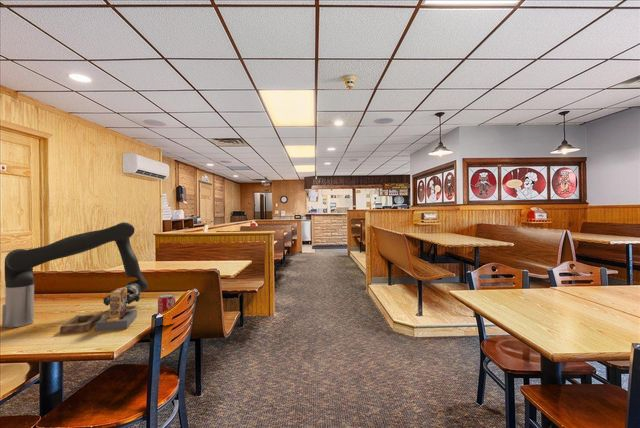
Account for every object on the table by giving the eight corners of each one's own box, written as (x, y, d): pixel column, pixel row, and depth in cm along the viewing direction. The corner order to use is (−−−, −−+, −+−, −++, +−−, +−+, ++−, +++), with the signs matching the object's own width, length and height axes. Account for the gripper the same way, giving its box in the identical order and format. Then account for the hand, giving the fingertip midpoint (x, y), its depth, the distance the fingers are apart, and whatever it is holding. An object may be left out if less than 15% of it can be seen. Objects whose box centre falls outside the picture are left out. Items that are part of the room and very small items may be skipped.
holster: (60, 334, 127) (60, 326, 127) (76, 321, 141) (76, 315, 141) (88, 331, 130) (89, 324, 130) (101, 319, 144) (102, 313, 144)
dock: (95, 331, 130) (96, 321, 130) (109, 318, 145) (109, 309, 145) (127, 328, 133) (127, 318, 133) (136, 316, 149) (137, 307, 149)
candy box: (119, 326, 136) (120, 291, 136) (108, 327, 135) (109, 292, 135) (126, 319, 144) (127, 287, 144) (116, 320, 143) (117, 287, 143)
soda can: (168, 327, 135) (168, 297, 135) (153, 326, 136) (154, 296, 136) (178, 322, 142) (179, 293, 142) (165, 320, 143) (165, 292, 143)
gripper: (111, 287, 152) (99, 295, 137) (144, 285, 157) (135, 293, 141) (111, 302, 152) (99, 312, 137) (144, 300, 157) (135, 309, 141)
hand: (117, 302), depth 139 cm, fingers open, 8 cm apart
